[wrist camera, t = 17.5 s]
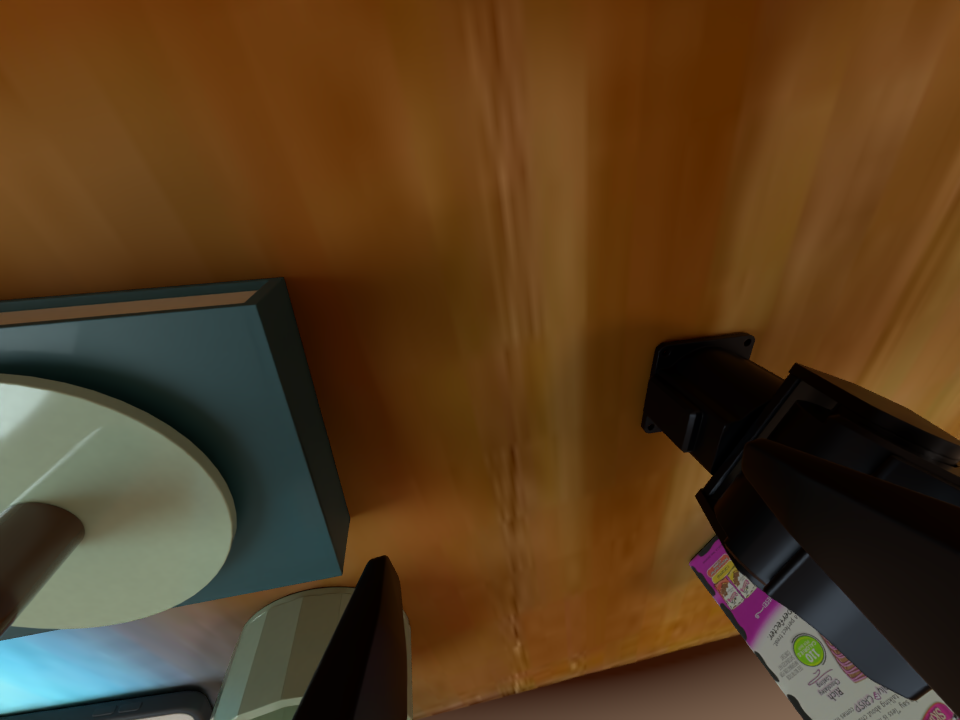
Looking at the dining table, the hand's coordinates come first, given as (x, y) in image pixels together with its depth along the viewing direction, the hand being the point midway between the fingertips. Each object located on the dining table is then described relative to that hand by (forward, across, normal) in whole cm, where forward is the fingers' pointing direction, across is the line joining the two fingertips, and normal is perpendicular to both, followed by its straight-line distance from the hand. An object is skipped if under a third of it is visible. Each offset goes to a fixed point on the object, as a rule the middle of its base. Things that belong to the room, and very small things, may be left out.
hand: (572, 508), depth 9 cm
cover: (+8, +20, +2) cm, 21 cm away
